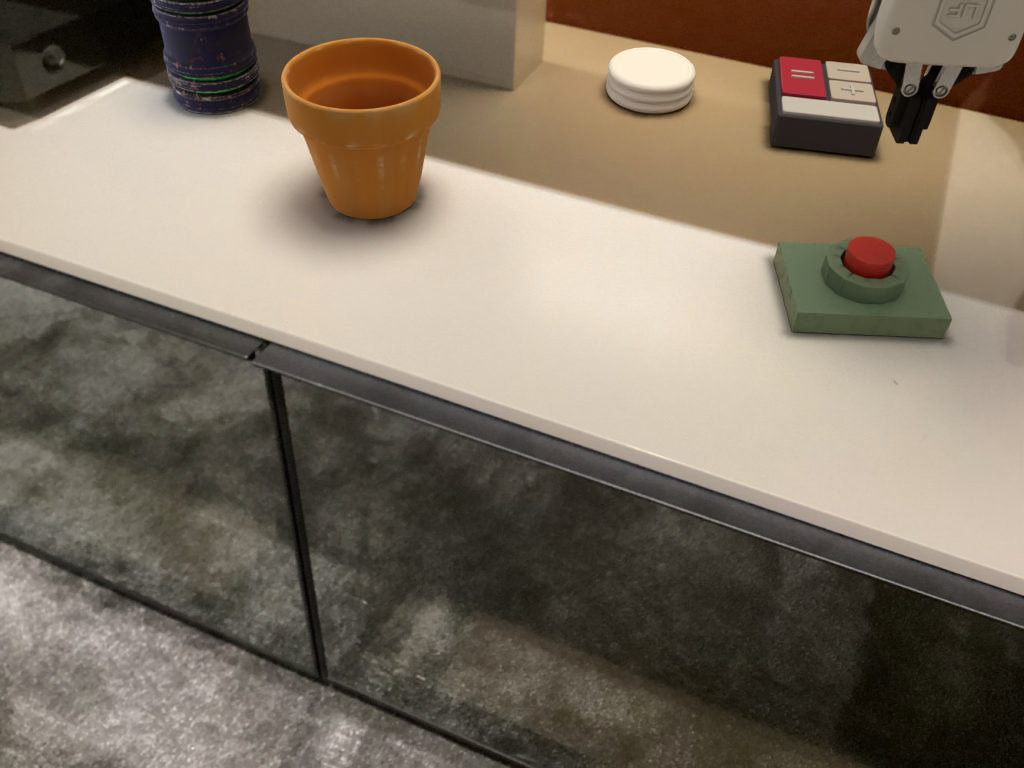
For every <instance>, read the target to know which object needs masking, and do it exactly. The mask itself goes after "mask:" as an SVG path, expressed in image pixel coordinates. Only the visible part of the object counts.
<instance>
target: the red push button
mask: <svg viewBox="0 0 1024 768" xmlns="http://www.w3.org/2000/svg"><path fill="white" fill-rule="evenodd" d="M851 239H852V240H851V241H850V242H849V244H848V247H847V250H846V253H845V256H844V259H843V264H844V267H845V268H847V269H848V270H849V271H850V272H851V273H853V274H855V275H858V276H861V277H864V278H867V279H883V278H885V277H887V276H888V275H889V273H890V271H891V268H892V266H893V263H894V261H895V258H896V251H895V249H894V248H893V247H894V246H892V244H890V243H889V242H887V241H886V240H884V239H881V238H878V237H875V236H869V235H862V236H857V237H855V238H851Z"/></svg>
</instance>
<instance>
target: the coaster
mask: <svg viewBox="0 0 1024 768" xmlns="http://www.w3.org/2000/svg"><path fill="white" fill-rule="evenodd" d="M696 76H697V73H696V68H695V66H694V65H693V63H692V62H691V61H690V60H689V59H688V58H687V57H685V56H683V55H682V54H679V53H678V52H675V51H672V50H669V49H665V48H660V47H647V46H645V47H644V46H643V47H634V48H628V49H625V50H622V51H620V52H618V53H617V54H615V55H614V56H613V57H612V58H610V60H609V62H608V65H607V75H606V80H607V81H606V84H605V88H606V92H607V95H608V97H609V98H610V99H611V100H612V101H613V102H614V103H616V104H617V105H619V106H620V107H622V108H625V109H627V110H630V111H633V112H636V113H641V114H642V113H643V114H654V115H655V114H667V113H672V112H674V111H677V110H680V109H682V108H684V107H686V105H688V104H689V102H690V101H691V99H692V97H693V93H694V92H693V90H694V88H695V79H696Z"/></svg>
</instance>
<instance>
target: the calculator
mask: <svg viewBox="0 0 1024 768" xmlns="http://www.w3.org/2000/svg"><path fill="white" fill-rule="evenodd" d="M768 88H769V105H770V129H769V131H770V132H769V133H770V143H771V145H773V146H774V147H775V146H777V147H783V148H794V149H800V150H801V149H802V150H811V151H817V152H818V151H820V152H828V153H836V154H844V155H853V156H854V155H855V156H863V157H874V156H875V155H876V152H877V149H878V145H879V143H880V140H881V136H882V133H883V130H884V127H885V125H884V122H883V117H882V113H881V109H880V105H879V102H878V97H877V94H876V89H875V85H874V80H873V77H872V73H871V70H870V68H869V66H868V65H864V64H859V63H849V62H839V61H830V60H826V61H825V63H822V61H821V60H819V59H811V58H804V57H803V58H801V57H792V56H782V55H781V56H779V57H778V58H775V59H774V60H773V63H772V67H771V71H770V76H769V80H768Z"/></svg>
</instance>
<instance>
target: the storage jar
mask: <svg viewBox="0 0 1024 768" xmlns="http://www.w3.org/2000/svg"><path fill="white" fill-rule="evenodd" d="M150 2H151V5H152V6H151V9H152V12H153V14H154V17H155V19H156V20H157V22H158V23H159V28H160V33H161V37H162V41H163V45H164V48H163V50H162V51H163V52H162V53H163V62H164V63H165V65H166V66H165V68H166V72H167V77H168V80H169V82H170V85H171V87H172V89H173V97H174V102H175V103H176V104H177V105H178V106H179V107H180V108H181V109H184V110H185V111H187V112H190V113H191V112H192V113H195V114H201V115H222V114H229V113H233V112H237V111H241V110H243V109H245V108H248V107H250V106H251V105H253V104H254V103H256V102H257V101H258V100H259V99H260V97H261V95H262V92H263V87H262V83H261V80H260V76H261V75H260V62H259V57H258V55H257V53H258V49H257V46H256V43H255V40H254V39H253V38H252V36H251V35H252V34H251V29H250V23H249V22H250V21H249V17H248V12H249V0H150Z"/></svg>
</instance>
